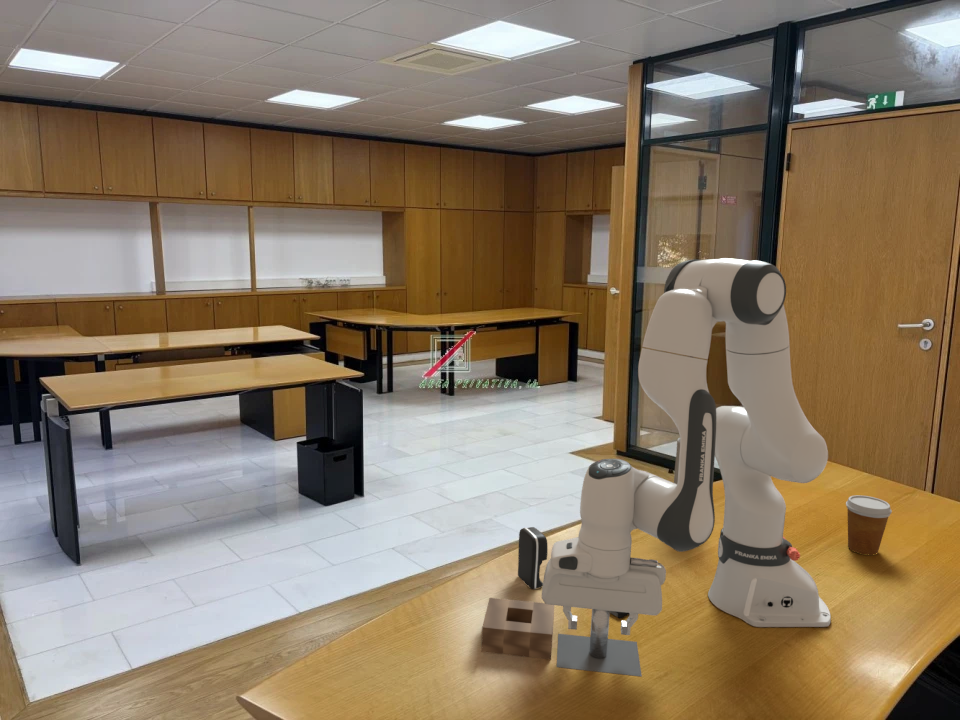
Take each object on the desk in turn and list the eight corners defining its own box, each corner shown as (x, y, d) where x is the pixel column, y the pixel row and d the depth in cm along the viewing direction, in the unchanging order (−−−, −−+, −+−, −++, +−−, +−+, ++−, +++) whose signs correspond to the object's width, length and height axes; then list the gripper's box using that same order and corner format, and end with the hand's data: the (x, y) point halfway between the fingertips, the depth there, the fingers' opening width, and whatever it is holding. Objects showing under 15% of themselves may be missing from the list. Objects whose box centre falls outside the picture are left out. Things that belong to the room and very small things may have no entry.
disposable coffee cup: (842, 553, 162) (848, 505, 160) (838, 538, 171) (844, 492, 169) (888, 561, 159) (895, 512, 156) (882, 545, 167) (888, 498, 165)
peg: (606, 649, 121) (610, 597, 119) (607, 660, 118) (610, 606, 116) (589, 647, 121) (592, 595, 119) (589, 658, 118) (592, 604, 116)
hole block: (553, 629, 127) (554, 604, 127) (550, 661, 118) (552, 634, 117) (488, 622, 129) (489, 597, 128) (481, 653, 119) (482, 627, 118)
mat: (636, 643, 124) (636, 641, 123) (641, 678, 114) (641, 676, 114) (558, 635, 125) (558, 633, 125) (556, 669, 116) (556, 666, 116)
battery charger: (548, 588, 142) (550, 536, 140) (531, 591, 141) (534, 539, 139) (532, 572, 149) (534, 523, 147) (516, 575, 147) (518, 525, 145)
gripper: (664, 552, 118) (658, 626, 120) (544, 541, 121) (541, 614, 123) (669, 570, 112) (662, 647, 114) (543, 558, 115) (539, 634, 117)
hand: (598, 630), depth 119 cm, fingers open, 8 cm apart
